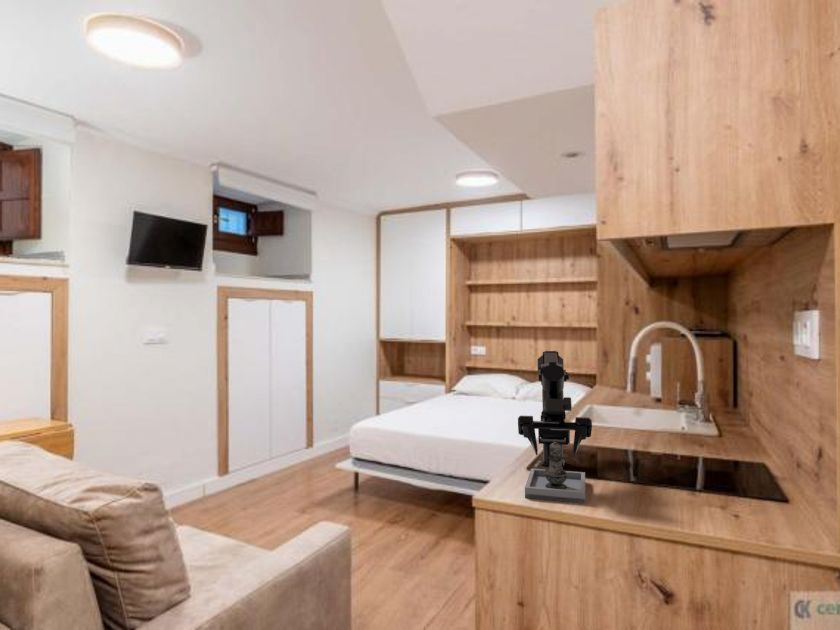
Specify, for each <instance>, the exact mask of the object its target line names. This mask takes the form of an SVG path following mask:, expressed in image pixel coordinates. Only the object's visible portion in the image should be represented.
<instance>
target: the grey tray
mask: <svg viewBox="0 0 840 630" xmlns="http://www.w3.org/2000/svg"><path fill="white" fill-rule="evenodd" d="M545 470H546V468H545V469H542V468H530V471H529V474H528V476H527V479H526V483H525V485H524V498H525V499H534V500H535V499H536V500H544V501H545V500H546V501H556V502H565V501H566V502H568V503H576V502H578V503H577V504H586V472H585V471H584V472H583V471H571V470H565V471H566V472H567V473H568V475H567V478H566V480H565V481H564V482H563V484H565V485H566V486H567V488H566V489H565V490H564V489H552V488H546V486H545V485H546V484H548V483H549V481H548V480H547V479H546V476H545V474H544V471H545ZM566 502H565V503H566Z"/></svg>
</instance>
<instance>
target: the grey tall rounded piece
mask: <svg viewBox="0 0 840 630" xmlns="http://www.w3.org/2000/svg"><path fill="white" fill-rule="evenodd" d="M548 458H549V460H550V466H548V469H545V471H544V474H545V476H546V479H547V480H548V481H549V483H548V484H546V485H545V486H546V488H552V489H564V490H565V489H566V488H567V486H566V485H565V484H563V482H564V481H565V480H566V478H567V475H568V473H567V472H566V471H567V470H564V467H562V459H564V456H563V457H562V456H561V445H560V444H559V443H557V442H556V439H555V440H554V442H553V443H551V444H550V456H549V457H548Z"/></svg>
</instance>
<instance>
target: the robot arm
mask: <svg viewBox="0 0 840 630" xmlns="http://www.w3.org/2000/svg"><path fill="white" fill-rule="evenodd" d="M559 354H560V353H559V351H558V350H557V351H556V350H544V351H542V355H541V356H539V357H538V358H537V375H538V382H540V384H541V386H542V387H541V388H542V389H541V394H542V395H541V396H542V398H541V399H542V410H541V413H540V420H534V416H533V415H519V416H518V417H517V429H518V431H517V432H518V435H520V436H523V438H525V439H528V441H529V443H530V444H531V446H532V449H533V451H534V454H535V456H538V455H539V454H538V444H539V445H541V444H542V449H543V452H542V455H543V456H542V459H541V466H545V467H546V466H548V467H549V466H550V460H549V458H548V457H549V456H550V444H551V443H553V442H554V440H555V439H556V442H557V443H559V444H560V445H561V456H562V457H563V459H562V468H564V467H565V464H566V459H564V450H563V449H564V445H566V446H568V445H569V444H570V443H571V442H570V441H571V440H570V439H571V435H570V434H571V431H574V436H573V437H574V438H573V448H572V457H573V458H574V457H575V458H576V455H577V452H578V448H579V446H580V444H581V442H582V441H583V440H584V441H586V439H587V438H591V436H592V430H593V421H592V419H591V417H587V416H586V417H585V416H575V417H574V418H575V419H574V422H573V421H572V422H571V421H569V422H568V421H566V419H567V417H566V415H567V414H566V412H571V411H572V405H573V404H572V397H570V396H569V397H568V396H567V397H566V396H565V397H564V387H565V383H567V381H568V380H569V379H570V377H569V376H570V375H569V373H568V371H566V369H564V367H565V366H564V359H563V358H562V357H561V356H560V355H559ZM536 429H537V430H538V434H537V435H538V442H537V435H536Z"/></svg>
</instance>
